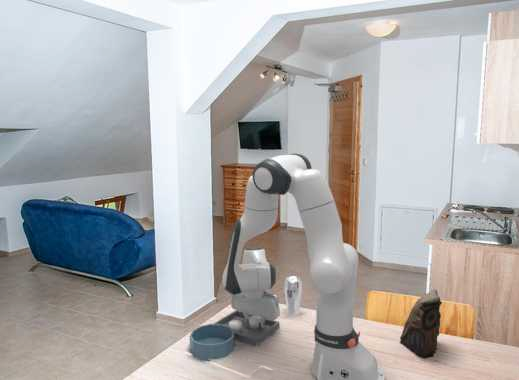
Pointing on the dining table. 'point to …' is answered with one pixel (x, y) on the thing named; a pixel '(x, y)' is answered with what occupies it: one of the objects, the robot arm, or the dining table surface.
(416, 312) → the owl
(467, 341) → the dining table surface
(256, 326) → the stone
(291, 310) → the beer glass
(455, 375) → the dining table surface
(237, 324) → the stone
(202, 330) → the bowl
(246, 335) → the tray
